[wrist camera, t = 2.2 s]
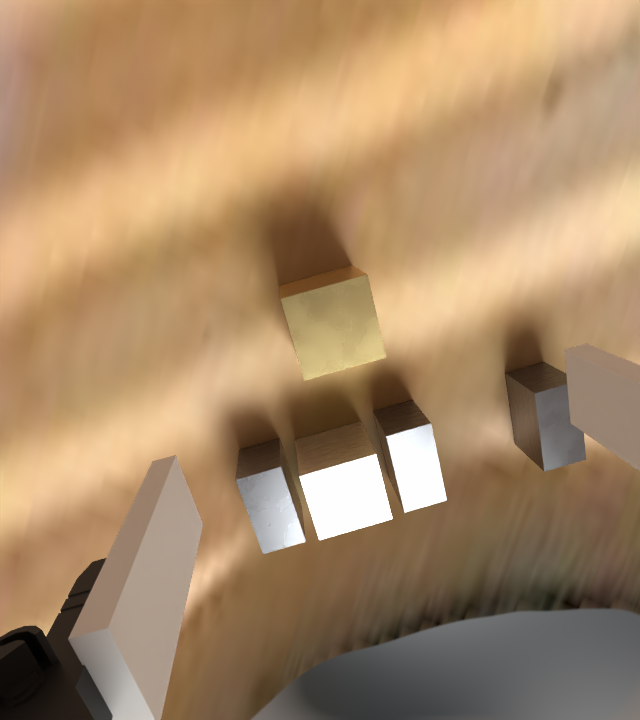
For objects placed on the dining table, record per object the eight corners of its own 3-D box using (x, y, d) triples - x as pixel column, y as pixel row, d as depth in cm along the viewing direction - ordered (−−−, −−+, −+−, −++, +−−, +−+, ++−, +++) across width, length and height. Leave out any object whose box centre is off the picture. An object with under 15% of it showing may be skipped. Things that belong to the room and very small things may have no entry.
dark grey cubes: (239, 449, 34) (235, 480, 30) (544, 362, 34) (578, 380, 30) (263, 517, 35) (263, 554, 32) (552, 433, 36) (585, 459, 32)
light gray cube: (294, 439, 34) (299, 476, 29) (360, 420, 34) (376, 454, 29) (312, 496, 36) (319, 540, 31) (375, 478, 36) (392, 518, 31)
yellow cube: (278, 285, 31) (280, 299, 26) (352, 265, 31) (367, 274, 26) (299, 356, 32) (304, 380, 27) (368, 336, 32) (386, 357, 27)
